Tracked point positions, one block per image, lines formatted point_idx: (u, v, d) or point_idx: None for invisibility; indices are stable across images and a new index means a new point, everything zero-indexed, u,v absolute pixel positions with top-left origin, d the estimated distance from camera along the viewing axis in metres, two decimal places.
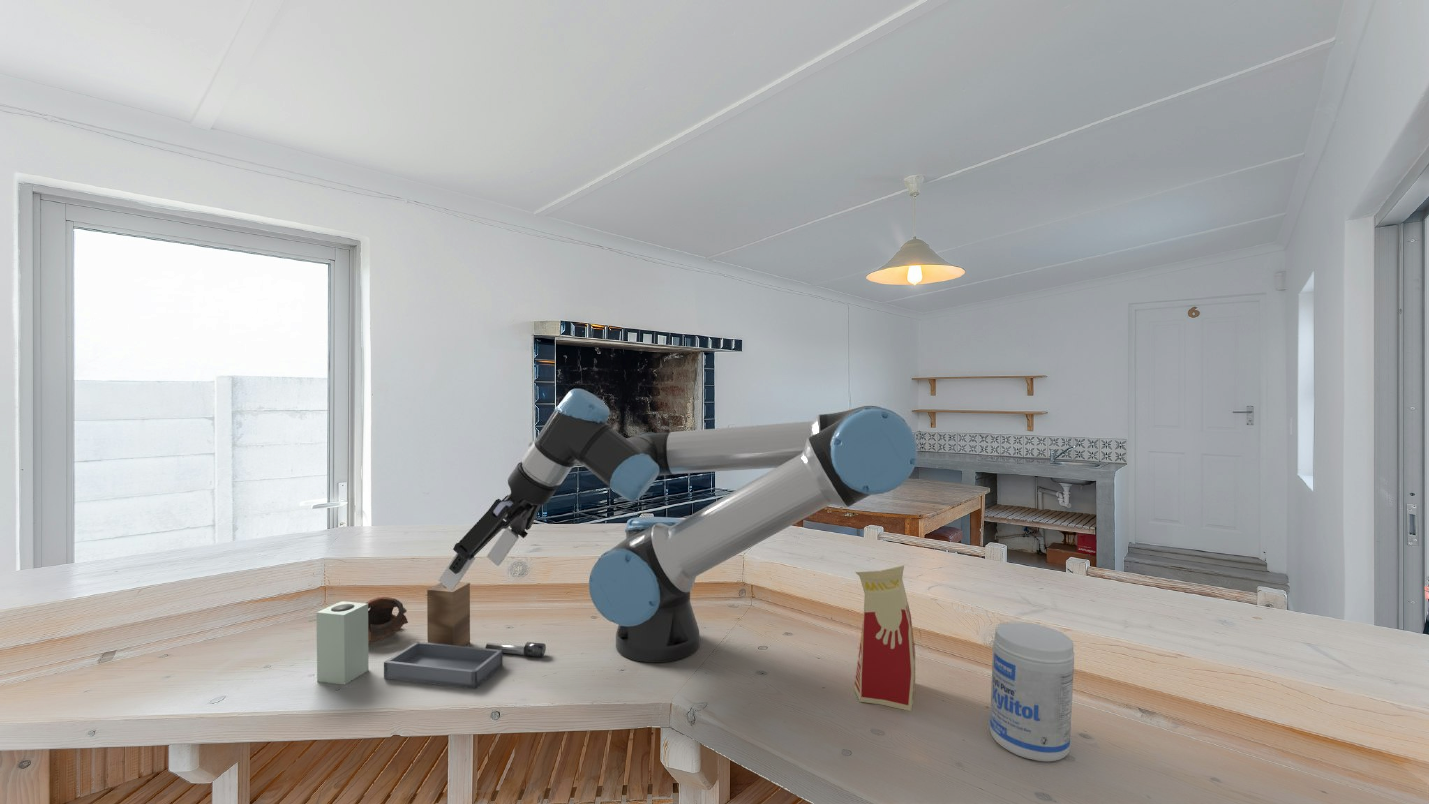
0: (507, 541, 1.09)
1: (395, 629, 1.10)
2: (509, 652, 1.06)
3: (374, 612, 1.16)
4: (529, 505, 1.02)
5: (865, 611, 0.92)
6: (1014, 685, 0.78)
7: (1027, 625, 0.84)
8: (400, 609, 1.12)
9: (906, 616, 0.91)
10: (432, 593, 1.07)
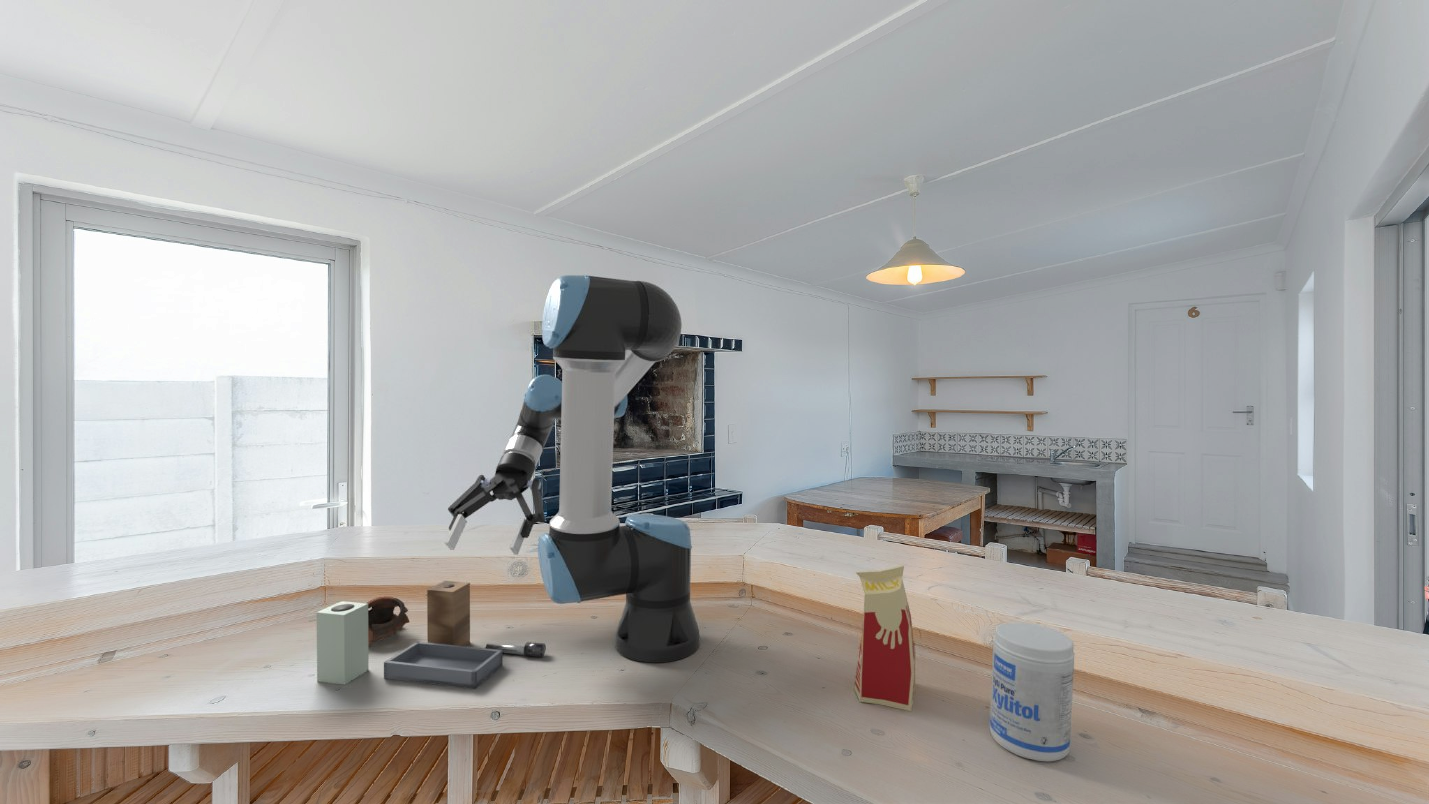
0: None
1: (397, 628, 1.11)
2: (509, 652, 1.06)
3: (375, 611, 1.16)
4: None
5: (865, 611, 0.92)
6: (1014, 685, 0.78)
7: (1027, 625, 0.84)
8: (402, 608, 1.13)
9: (906, 616, 0.91)
10: (432, 593, 1.07)
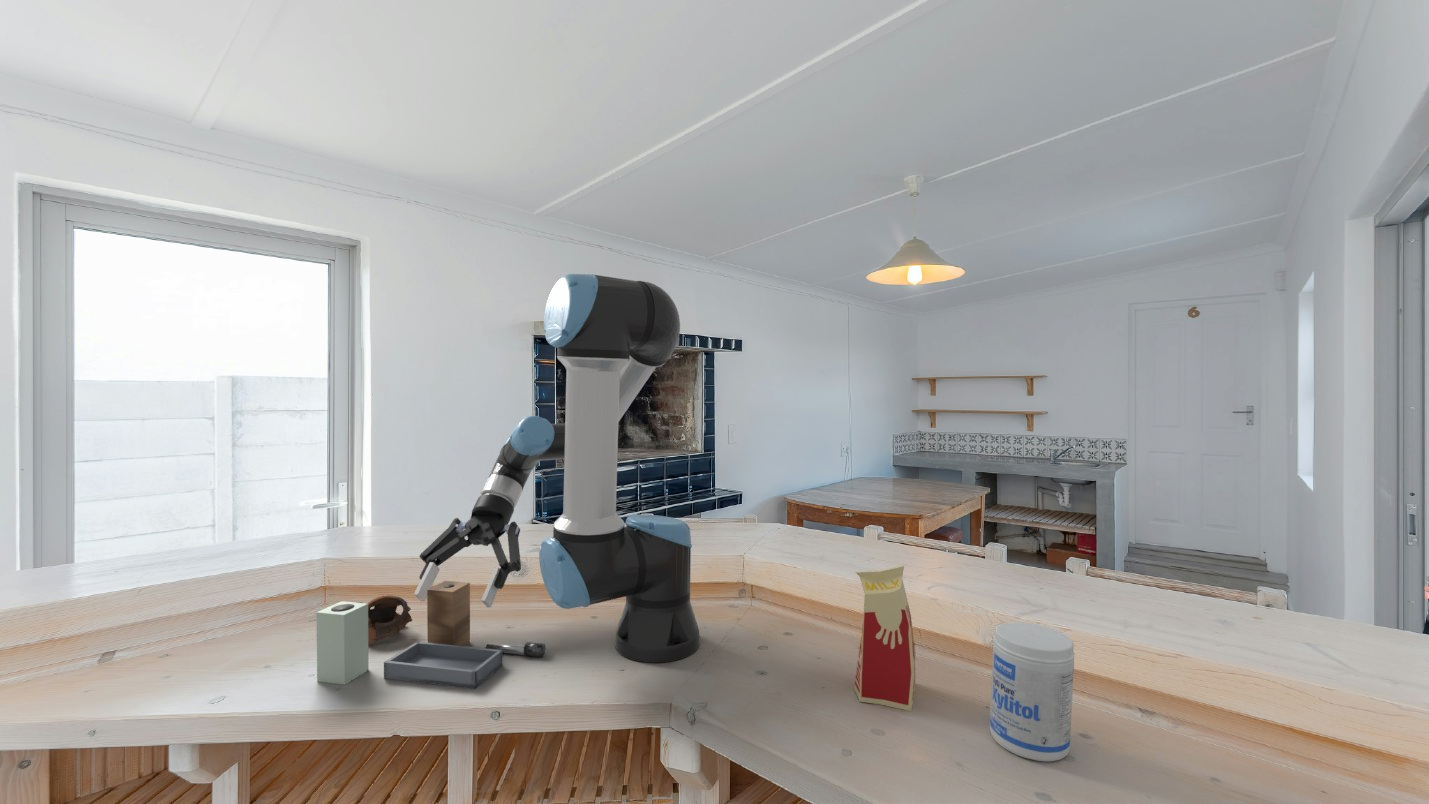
0: None
1: (400, 627, 1.11)
2: (509, 652, 1.06)
3: (378, 610, 1.16)
4: None
5: (865, 611, 0.92)
6: (1014, 685, 0.78)
7: (1027, 625, 0.84)
8: (404, 607, 1.13)
9: (906, 616, 0.91)
10: (432, 593, 1.07)
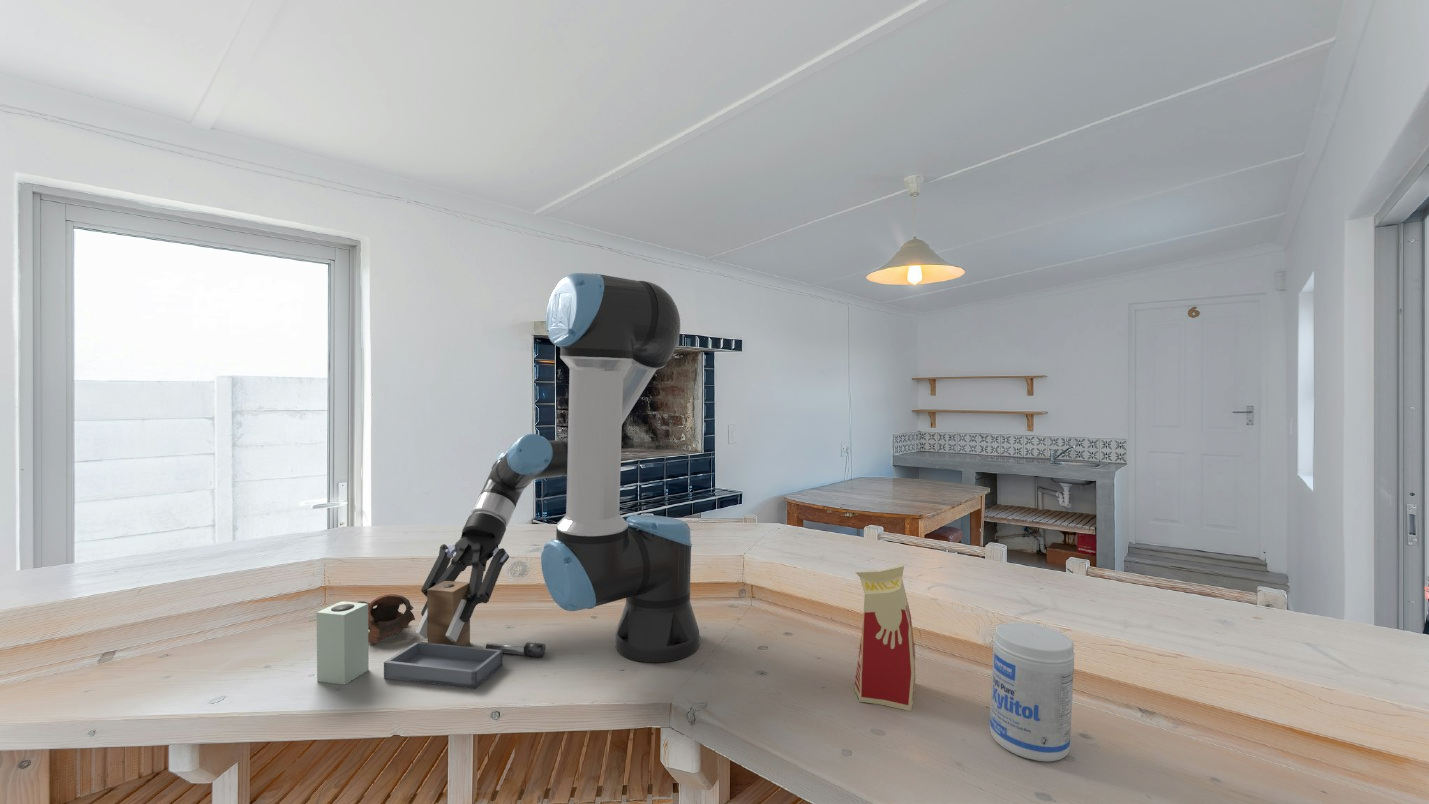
0: None
1: (403, 626, 1.12)
2: (509, 652, 1.06)
3: (381, 609, 1.17)
4: None
5: (865, 611, 0.92)
6: (1014, 685, 0.78)
7: (1027, 625, 0.84)
8: (407, 606, 1.14)
9: (906, 616, 0.91)
10: (432, 593, 1.07)
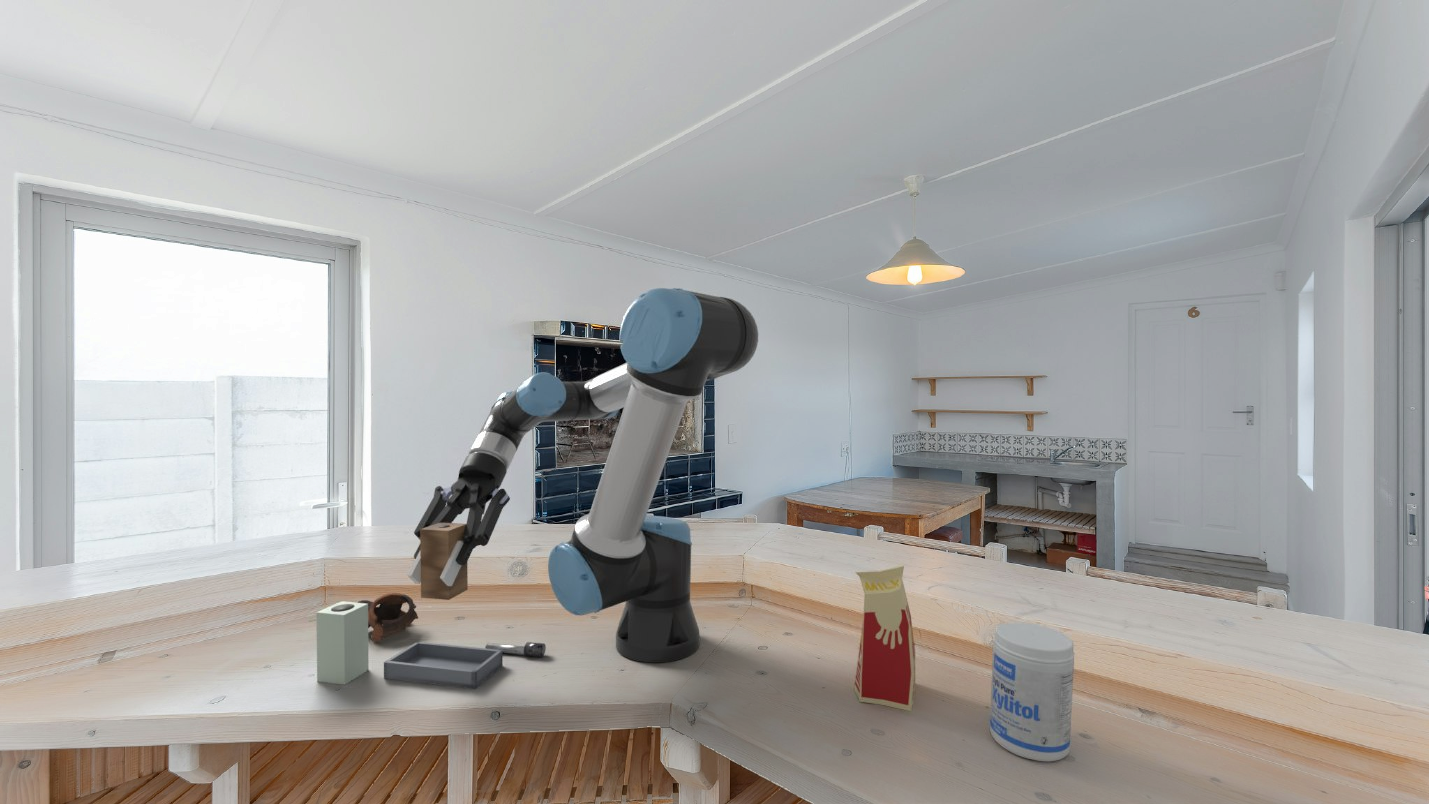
0: None
1: (406, 624, 1.13)
2: (509, 652, 1.06)
3: (384, 608, 1.18)
4: None
5: (865, 611, 0.92)
6: (1014, 685, 0.78)
7: (1027, 625, 0.84)
8: (411, 605, 1.15)
9: (906, 616, 0.91)
10: (426, 532, 0.97)
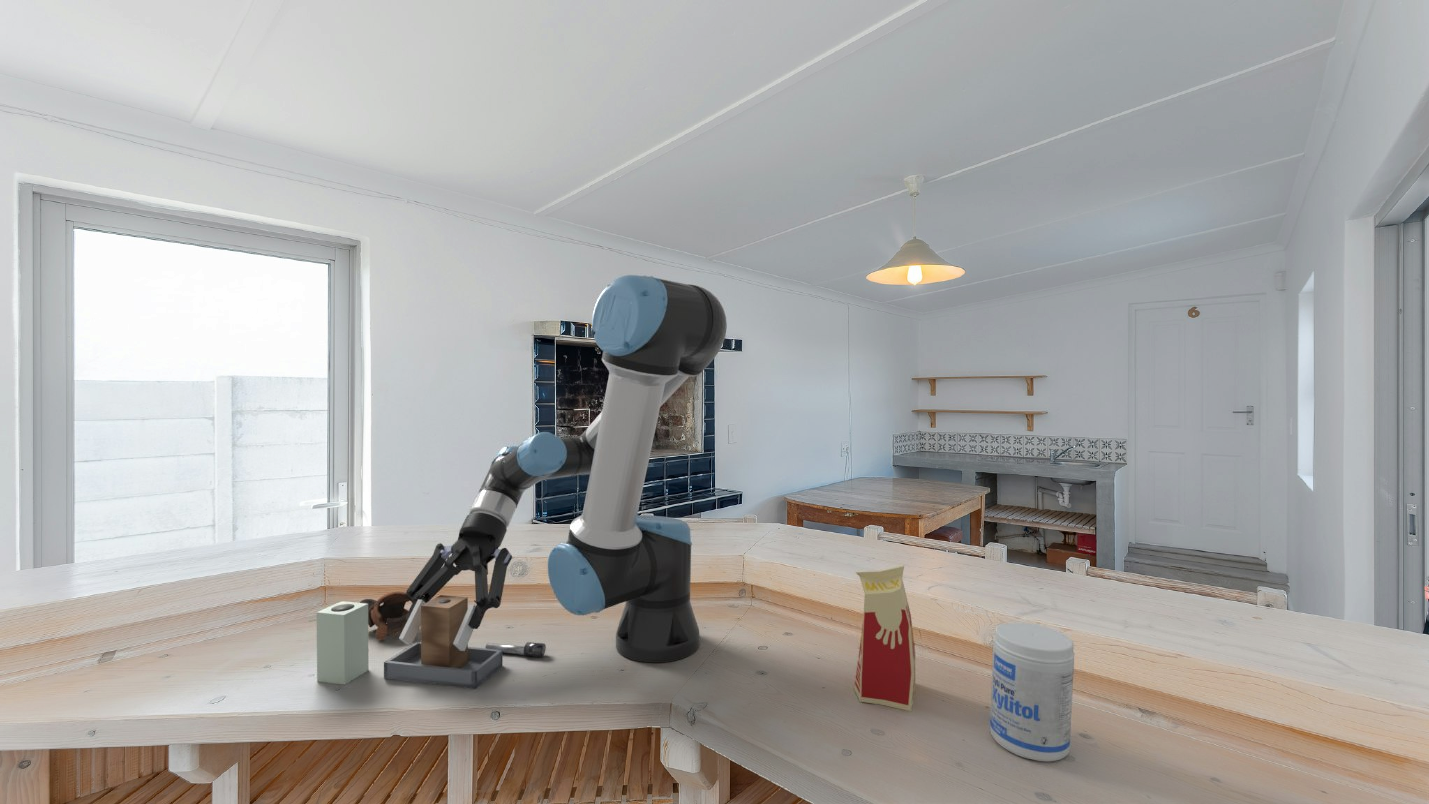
0: None
1: None
2: (509, 652, 1.06)
3: (387, 607, 1.18)
4: None
5: (865, 611, 0.92)
6: (1014, 685, 0.78)
7: (1027, 625, 0.84)
8: None
9: (906, 616, 0.91)
10: (426, 609, 0.97)
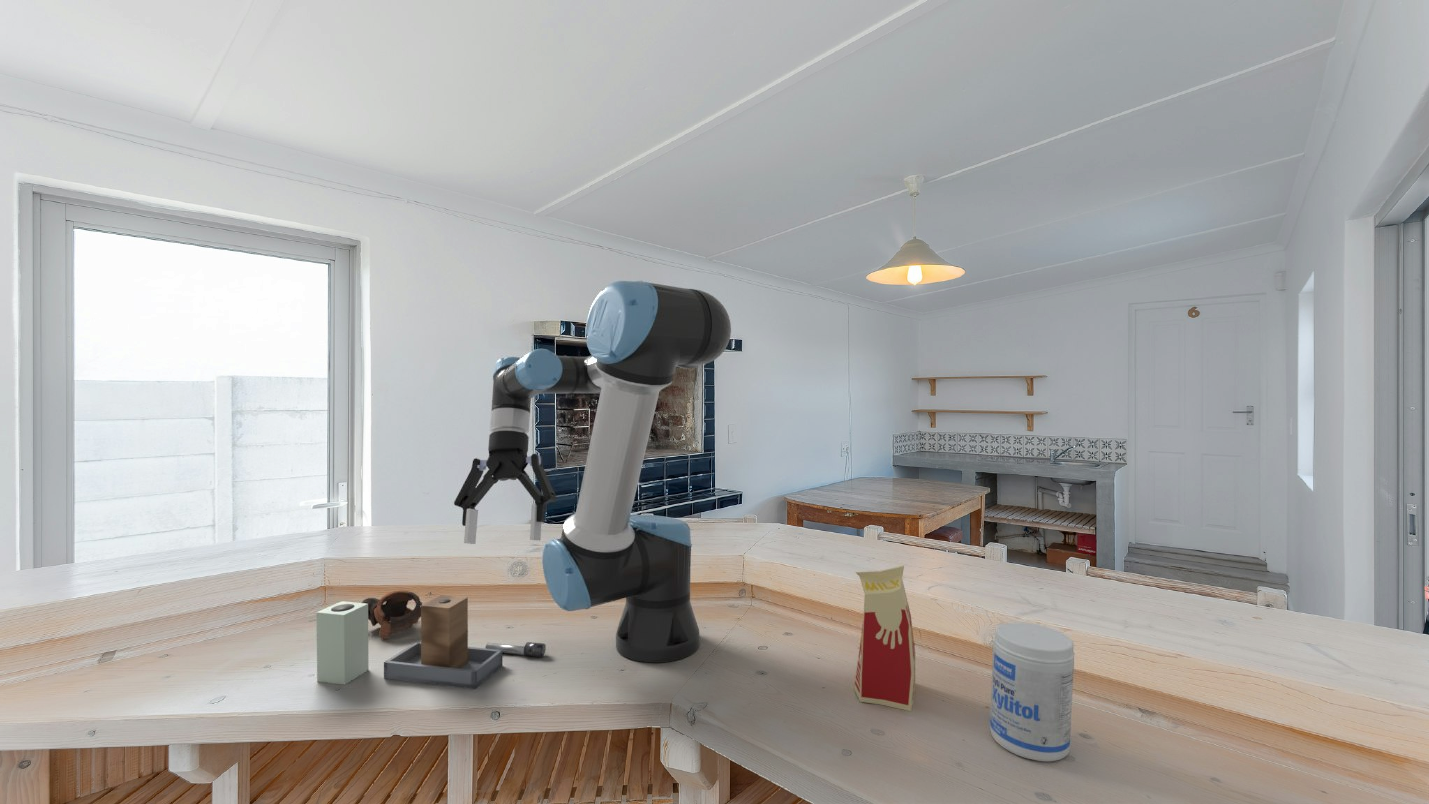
0: None
1: (413, 621, 1.14)
2: (509, 652, 1.06)
3: (390, 605, 1.19)
4: None
5: (865, 611, 0.92)
6: (1014, 685, 0.78)
7: (1027, 625, 0.84)
8: (417, 602, 1.16)
9: (906, 616, 0.91)
10: (426, 609, 0.97)
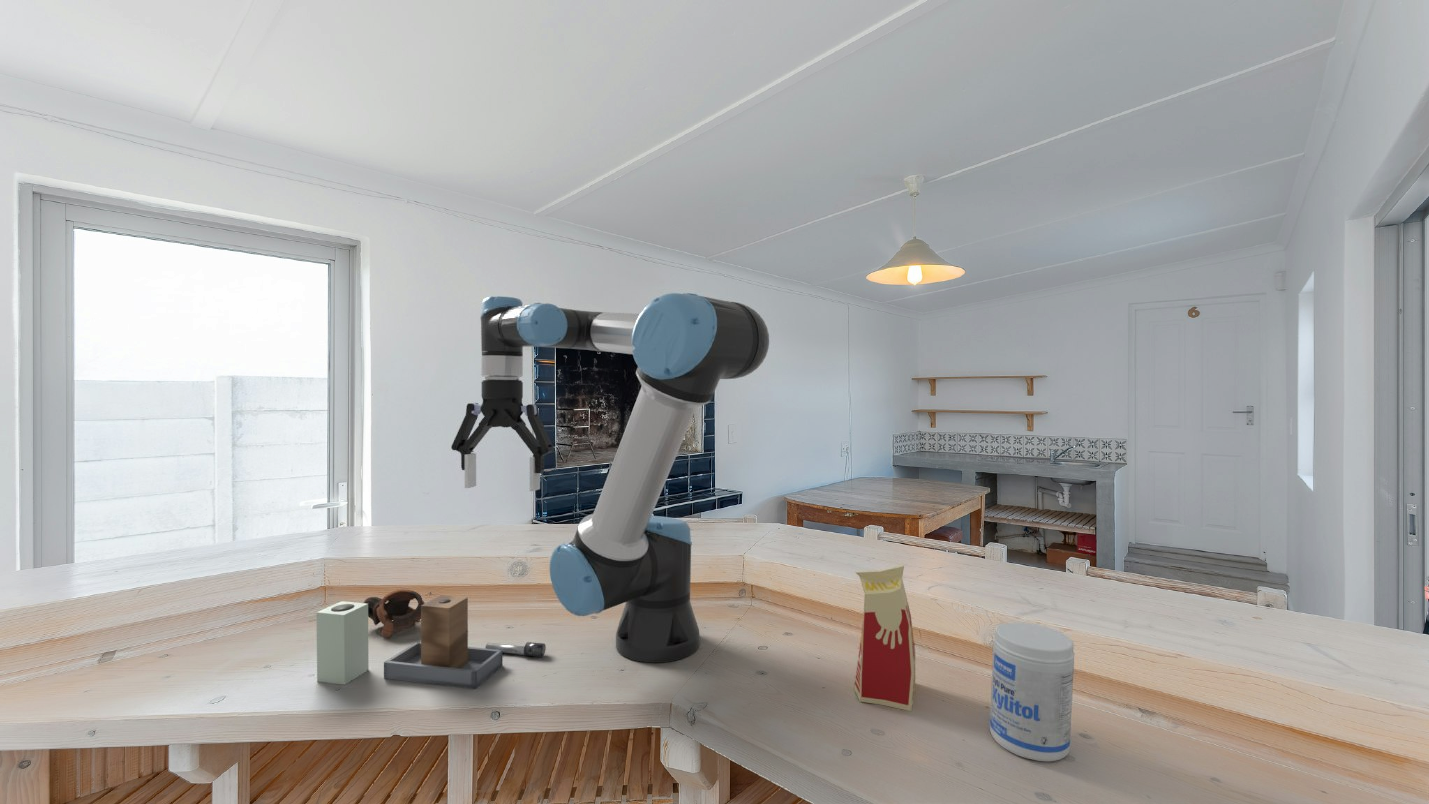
0: None
1: (416, 620, 1.15)
2: (509, 652, 1.06)
3: (392, 605, 1.20)
4: (503, 409, 1.16)
5: (865, 611, 0.92)
6: (1014, 685, 0.78)
7: (1027, 625, 0.84)
8: (419, 601, 1.17)
9: (906, 616, 0.91)
10: (426, 609, 0.97)
